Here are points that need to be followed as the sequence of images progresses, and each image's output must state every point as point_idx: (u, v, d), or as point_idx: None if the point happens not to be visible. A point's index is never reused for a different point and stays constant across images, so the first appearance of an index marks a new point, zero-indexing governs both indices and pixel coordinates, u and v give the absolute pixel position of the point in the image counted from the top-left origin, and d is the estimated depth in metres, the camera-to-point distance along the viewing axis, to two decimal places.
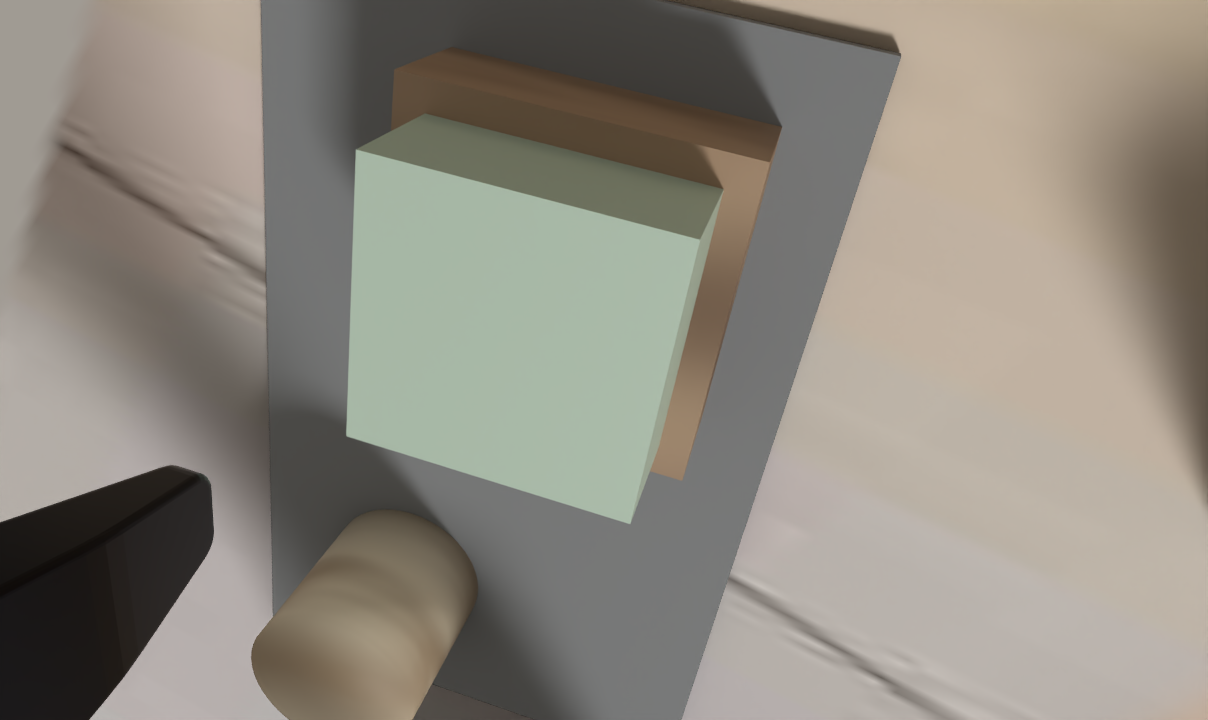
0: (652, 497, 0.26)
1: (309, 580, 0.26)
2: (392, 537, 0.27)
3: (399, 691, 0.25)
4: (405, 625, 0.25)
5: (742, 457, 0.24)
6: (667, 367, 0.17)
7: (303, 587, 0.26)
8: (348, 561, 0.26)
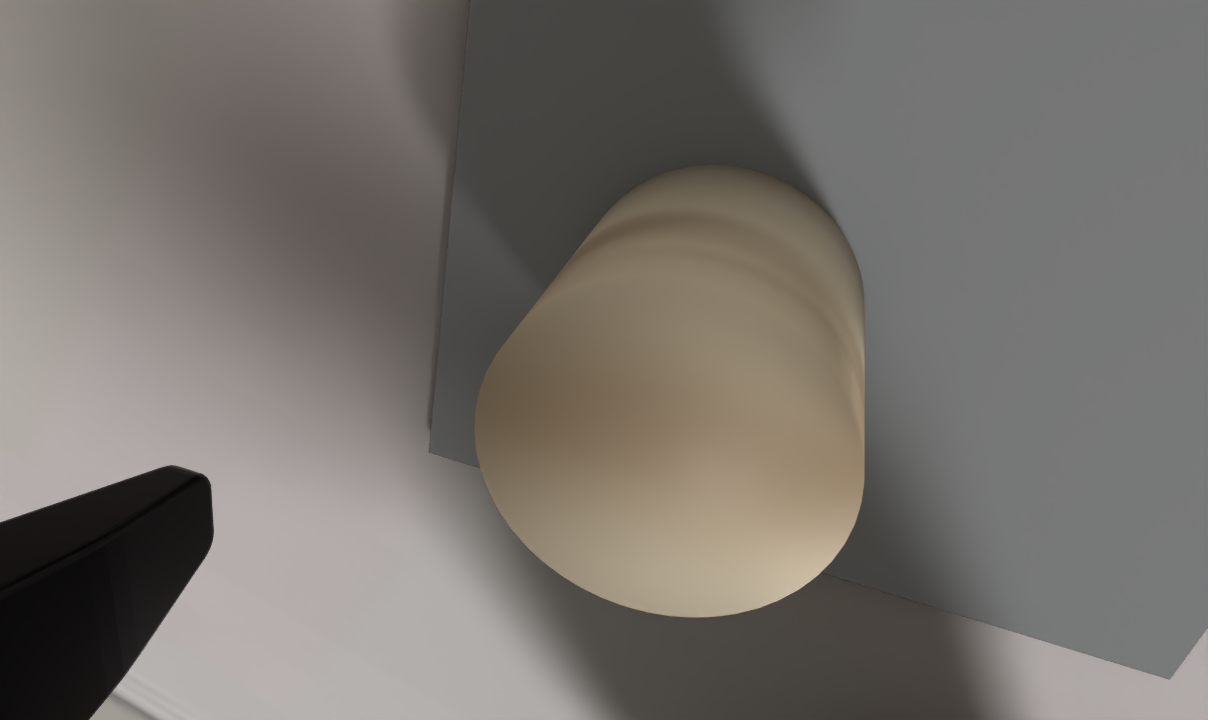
0: None
1: (590, 252, 0.12)
2: (737, 191, 0.13)
3: (841, 463, 0.11)
4: (831, 326, 0.11)
5: None
6: None
7: (584, 260, 0.12)
8: (672, 216, 0.12)
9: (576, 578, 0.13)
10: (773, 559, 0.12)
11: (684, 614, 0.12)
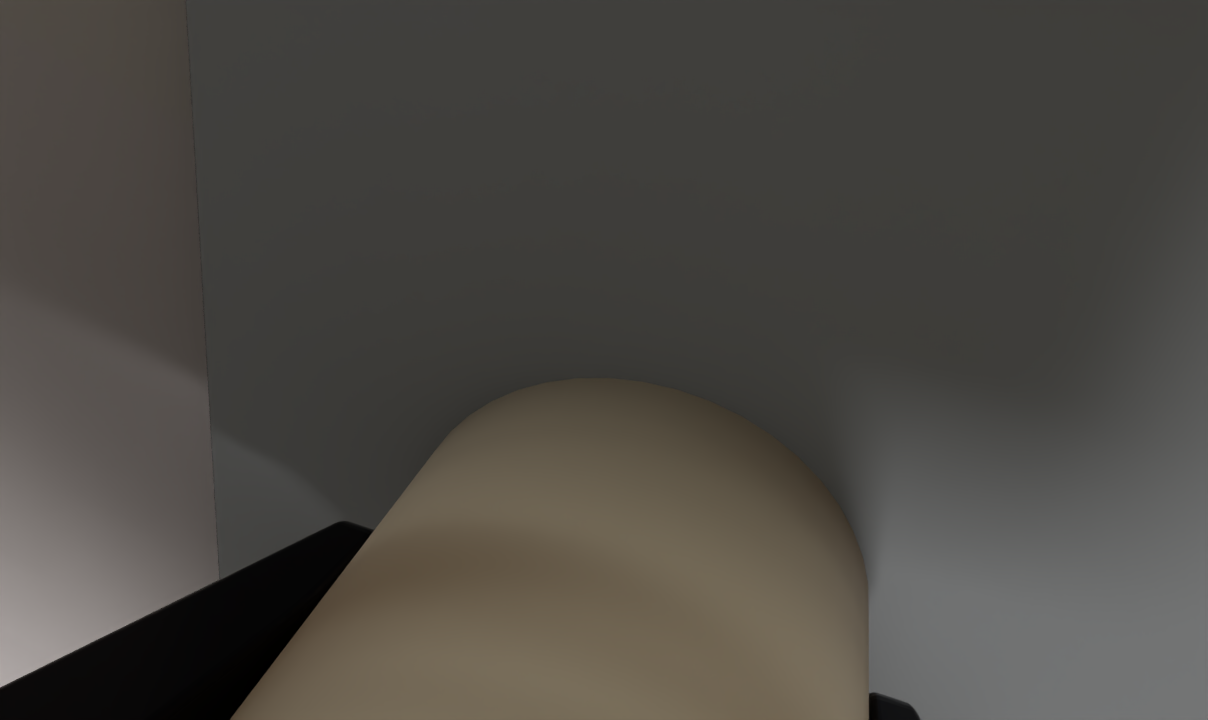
0: None
1: (334, 628, 0.06)
2: (639, 459, 0.07)
3: None
4: None
5: None
6: None
7: (309, 660, 0.06)
8: (498, 549, 0.06)
9: None
10: None
11: None
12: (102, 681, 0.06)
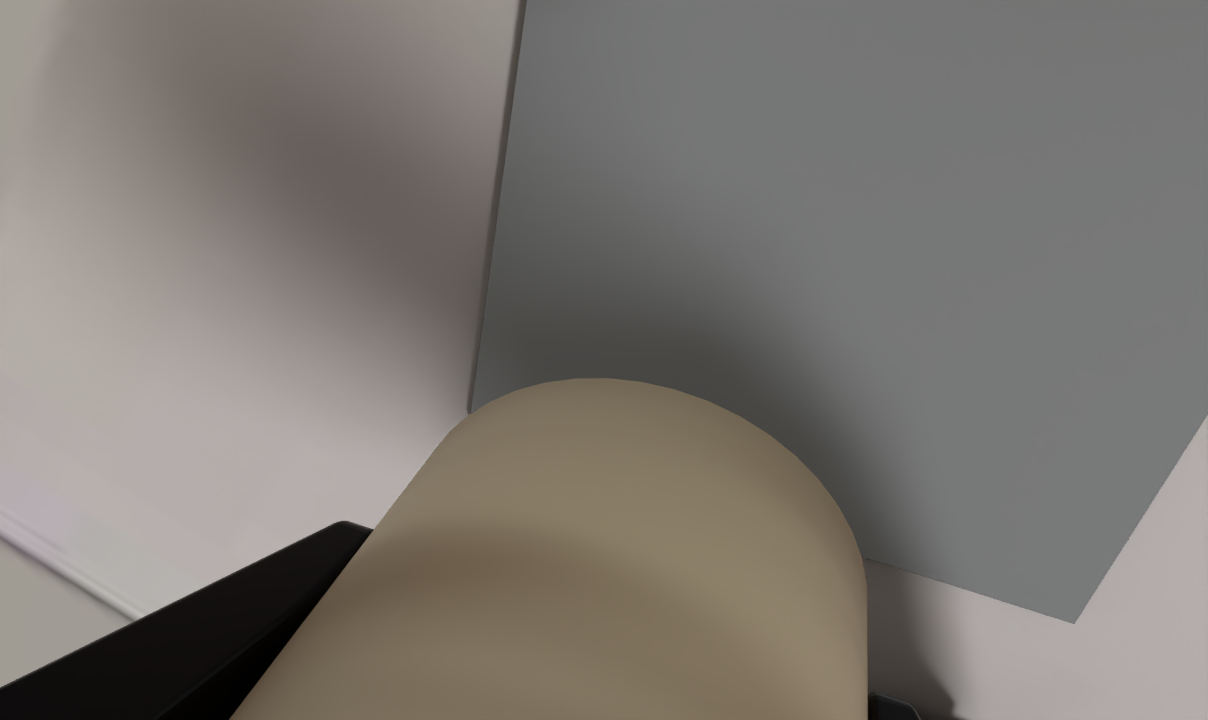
0: (1194, 131, 0.16)
1: (333, 627, 0.06)
2: (638, 459, 0.07)
3: None
4: None
5: None
6: None
7: (308, 660, 0.06)
8: (497, 551, 0.06)
9: None
10: None
11: None
12: (102, 682, 0.06)
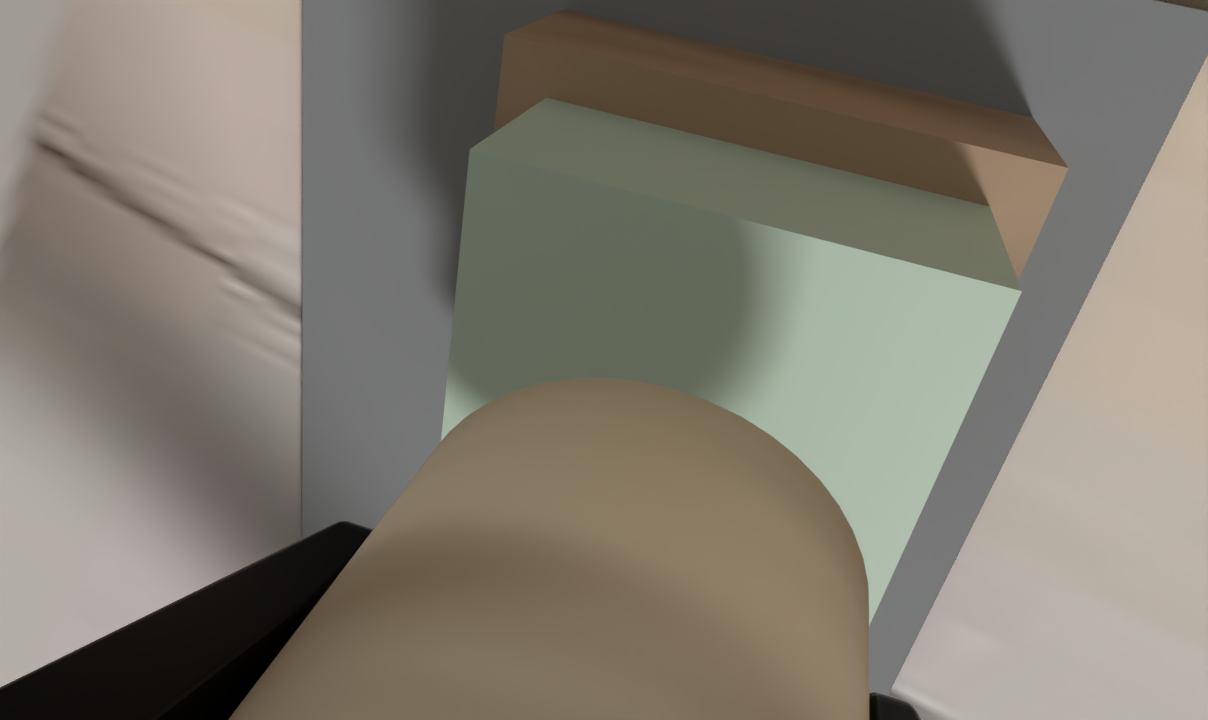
0: None
1: (331, 628, 0.06)
2: (638, 460, 0.07)
3: None
4: None
5: (924, 549, 0.19)
6: (935, 477, 0.11)
7: (306, 662, 0.06)
8: (496, 551, 0.06)
9: None
10: None
11: None
12: (102, 681, 0.06)
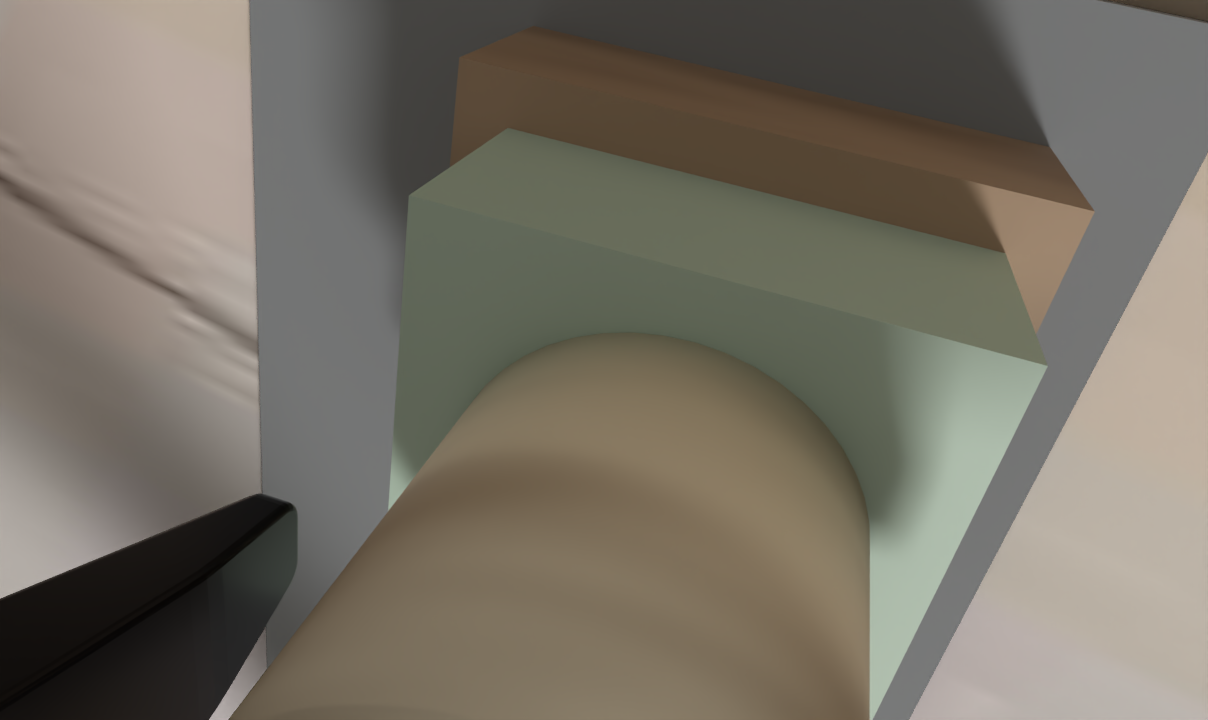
0: None
1: (396, 537, 0.07)
2: (662, 400, 0.08)
3: None
4: (808, 719, 0.06)
5: (928, 607, 0.17)
6: (944, 569, 0.10)
7: (377, 563, 0.07)
8: (540, 472, 0.07)
9: None
10: None
11: None
12: None
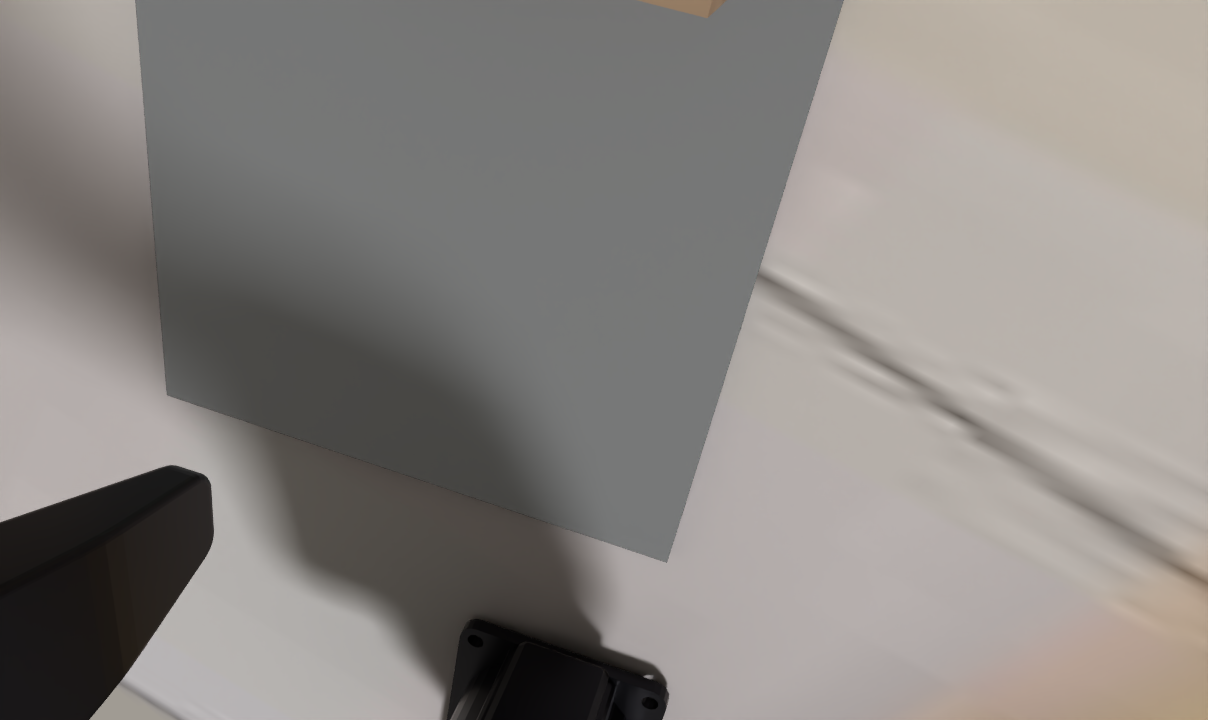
0: (658, 141, 0.19)
1: None
2: None
3: None
4: None
5: (788, 59, 0.17)
6: None
7: None
8: None
9: None
10: None
11: None
12: None
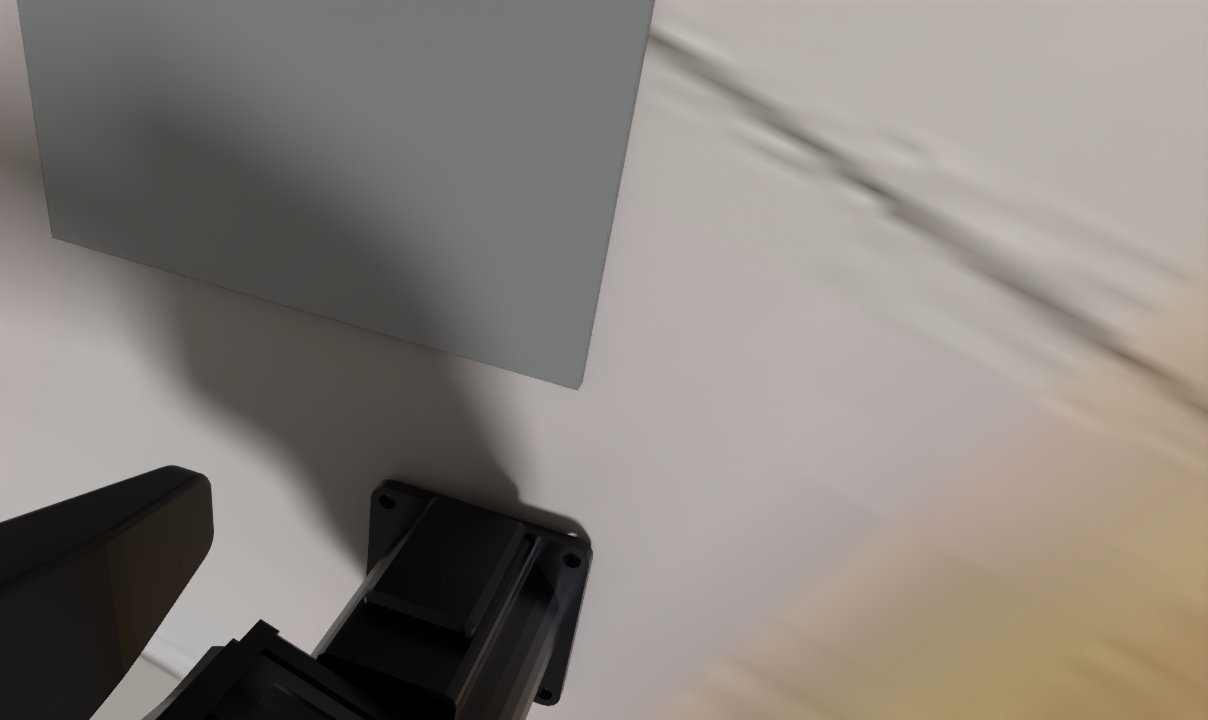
0: None
1: None
2: None
3: None
4: None
5: None
6: None
7: None
8: None
9: None
10: None
11: None
12: None
